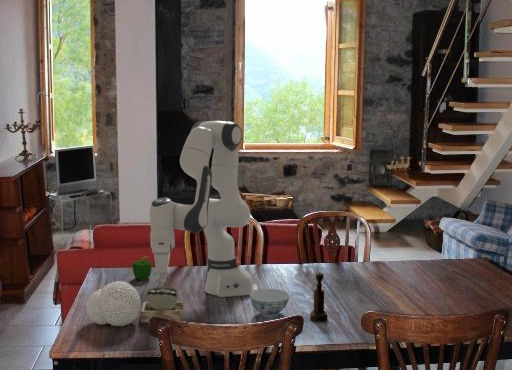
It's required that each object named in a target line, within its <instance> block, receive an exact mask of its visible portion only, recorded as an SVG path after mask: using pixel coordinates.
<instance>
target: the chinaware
mask: <svg viewBox="0 0 512 370" xmlns="http://www.w3.org/2000/svg"><path fill="white" fill-rule="evenodd" d="M249 298H250V302H251V305H252V306H253V308H255V311H258V313H260V315H261V316H262V317H264V318H275V317H276V318H277V317H278V316H279V314H280V312H283V310H284V309H285V308H286V307H287V305H288V302H289V299H290V293H289V292H287V291H285V290H282V289H276V288H261V289H258V290H256V291H253V292H252V293H251V294H250V295H249Z"/></svg>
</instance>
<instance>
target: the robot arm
mask: <svg viewBox="0 0 512 370" xmlns="http://www.w3.org/2000/svg"><path fill="white" fill-rule="evenodd" d="M242 137H243V134H242V129H241V127H240V125H239V124H238V123H236V122H233V121H224V120H223V121H222V120H211V121H209V120H208V121H204V120H203V121H197V122H196V123H194V124H193V126H192V127H191V129H190V132H189V135H187V138H186V139H185V143H184V145H183V146H182V151H181V154H180V157H179V164H180V168H181V169H182V171H183V172H184V173H185V174H186V175H187V176H190V177H191V178H193V179H194V180H195V181H196V190H195V197H194V202H193V204H183V203H178V202H174V201H172V199H170V198H169V197H159V198H156V199H154V200H153V201H151V203H150V207H149V226H150V232H149V233H150V234H149V236H150V248H151V250H152V251H151V253H152V254H153V257H154V264H155V265H154V267H155V271H156V274H158V275H159V277H160V278H159V279H160V284H165V283H166V280H167V279H166V275H167V274H168V270H169V263H170V258H171V252H172V249H173V248H175V246H176V245H175V244H176V243H175V242H176V241H175V239H176V238H175V231H174V230H180V231H187V232H190V233H194V234H198V233H200V232H202V231H203V232H204V235H205V237H206V240H207V241H206V242H207V255H208V256H207V259H206V270H207V277H206V283H205V287H204V292H205V293H206V294H209V295H213V296H216V297H218V298H227V297H240V296H250V294H251V293H252V292H253V291H256V290H259V288H258V285H257V284H256V283H254V282H253V278H252V276H251V274H250V272H249V271H247V270H245V269H244V268H243V267H241V261H240V259H239V257H236V256H235V239H234V237H233V236H232V235H231V234H229V233H228V232H227V231H226V229H225V227H228V228H241V227H245V226H246V225H247V224H248V223H249V221H250V220H251V219H250V218H251V210H250V207H249V205H248V204H247V203H246V202H245V201H244V200H243V198H242V197H241V194H240V192H239V187H238V176H239V175H238V174H239V172H238V171H239V149H238V146H239V145H240V144H241V142H242ZM212 151H213V153H212ZM211 155H212V158H211ZM210 158H211V159H212V160H211V167H209V166H210V165H209V163H210ZM212 187H213V188H214V189H215V190H217V191H218V193H219V196H220V198H211V197H210V196H211V189H212Z"/></svg>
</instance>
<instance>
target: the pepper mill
mask: <svg viewBox="0 0 512 370" xmlns="http://www.w3.org/2000/svg"><path fill="white" fill-rule="evenodd" d="M314 277H315V279H316V282H317V283H315V286H316V289H313V309H312V310H311V311H310V313H309V319H310V320H311V321H312V322H314V323H315V322H316V323H321V322H326V321H327V320H328V312H327V311H325V289H322V288H323V284H322V281H323V279H324V274H323V272H316V273H315V276H314Z"/></svg>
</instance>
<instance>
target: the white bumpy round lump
mask: <svg viewBox="0 0 512 370" xmlns="http://www.w3.org/2000/svg"><path fill="white" fill-rule="evenodd" d="M141 306H142V302H141V297H140V294H139V292H138V291H137V290H136V288H135V287H134V286H133V285H132V284H130V283H129V282H126V281H121V280H117V281H113V282H110V283H108V284H107V283H106V285H105V286H103V287H102V288H99V289H97V290H95V291H94V292H93V293H92V294H90V295H89V297H88V299H87V300H86V307H85V311H86V314H87V316H88V318H89V319H90V320H91V321H92V322H93V323H95V324H97V325H100V326H103V325H108V324H109V325H110V326H112V327H113V326H116V327H123V326H126V325H130V324H131V323H132V322H134V321H135V320H136V318H137V317H138V316H139V314H140V313H141V308H142V307H141Z"/></svg>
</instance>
